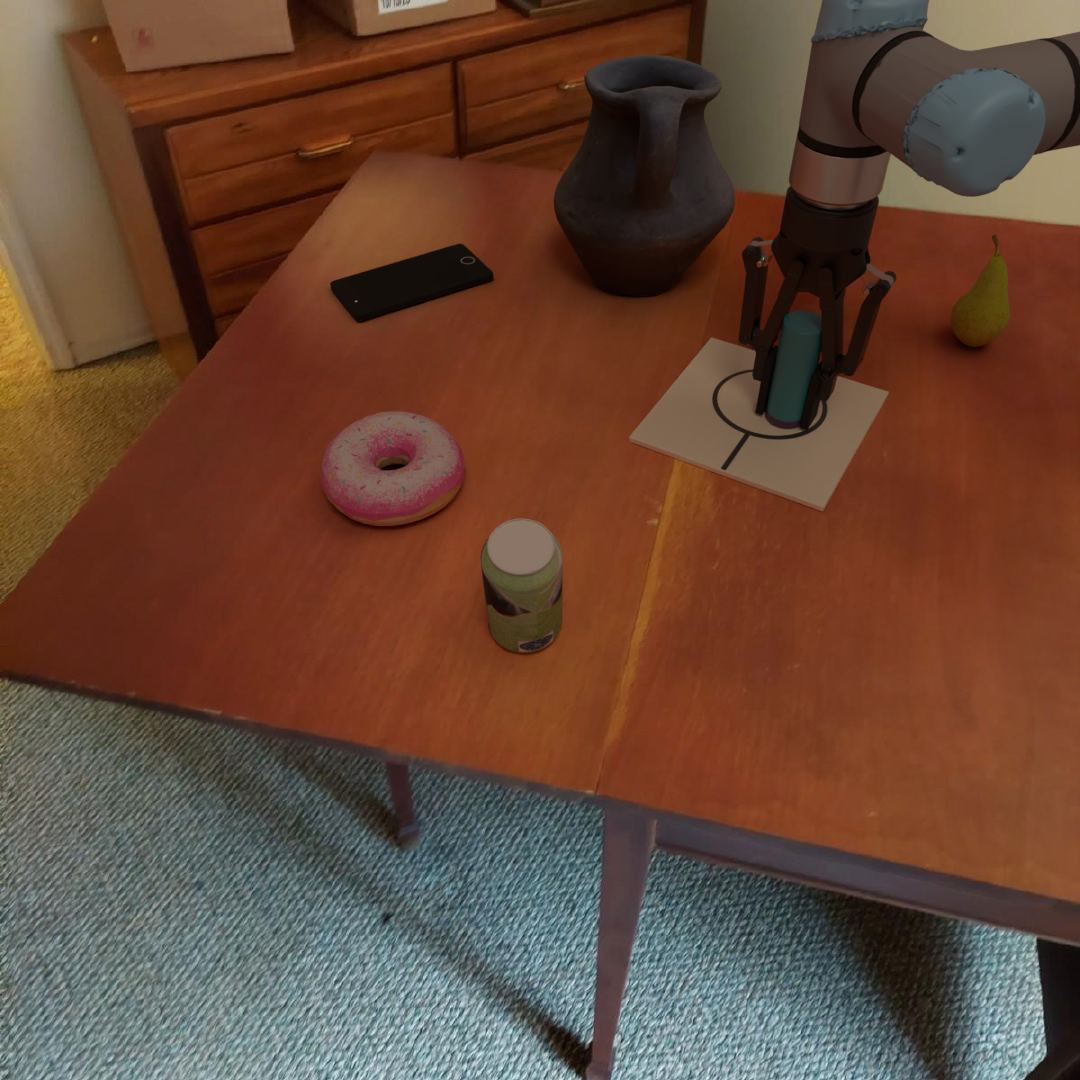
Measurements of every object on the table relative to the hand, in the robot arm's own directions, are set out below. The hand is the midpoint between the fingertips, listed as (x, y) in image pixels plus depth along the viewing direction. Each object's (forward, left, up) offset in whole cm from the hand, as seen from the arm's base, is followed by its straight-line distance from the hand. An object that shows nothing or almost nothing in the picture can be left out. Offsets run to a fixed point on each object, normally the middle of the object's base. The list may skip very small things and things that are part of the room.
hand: (785, 413), depth 96 cm
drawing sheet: (+2, 0, -1) cm, 3 cm away
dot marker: (0, 0, 0) cm, 0 cm away
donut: (+28, +27, -1) cm, 39 cm away
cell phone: (+48, -3, -1) cm, 48 cm away
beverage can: (+8, +36, -1) cm, 37 cm away
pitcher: (+25, -18, -1) cm, 31 cm away
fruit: (-13, -24, -1) cm, 27 cm away
